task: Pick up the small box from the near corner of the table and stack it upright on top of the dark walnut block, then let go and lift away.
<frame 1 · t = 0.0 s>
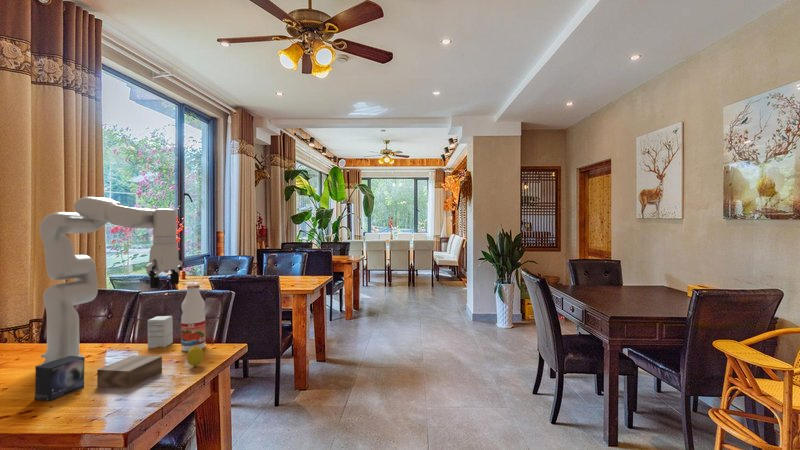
hand: (165, 285, 140), 31 cm above the table, tool pointing down, fingers open, 9 cm apart
small box: (60, 394, 118), on the table
walnut block: (131, 379, 129), on the table
lemon: (195, 367, 140), on the table
fruit juice: (193, 348, 162), on the table
supplement box: (160, 345, 166), on the table
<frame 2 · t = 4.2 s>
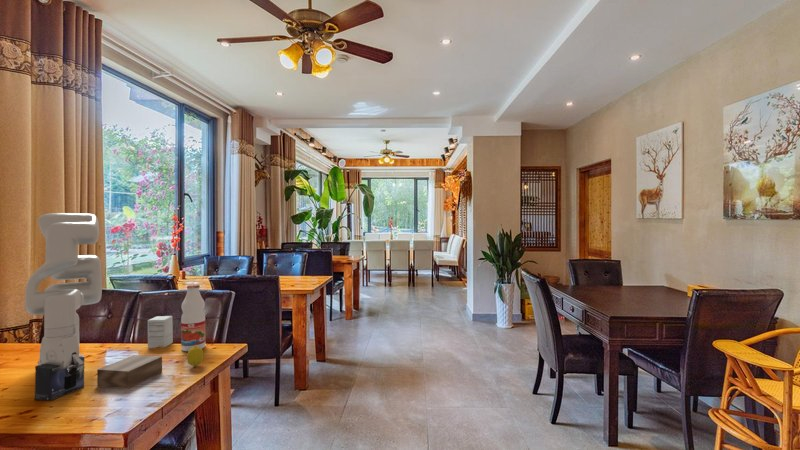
hand: (60, 386, 118), 2 cm above the table, tool pointing down, fingers closed on small box, 6 cm apart
small box: (60, 394, 118), on the table, touching gripper
everything else where it was.
when the fingers open (10 cm above the table, at t = 10.7 s): small box drops 2 cm, resting on walnut block.
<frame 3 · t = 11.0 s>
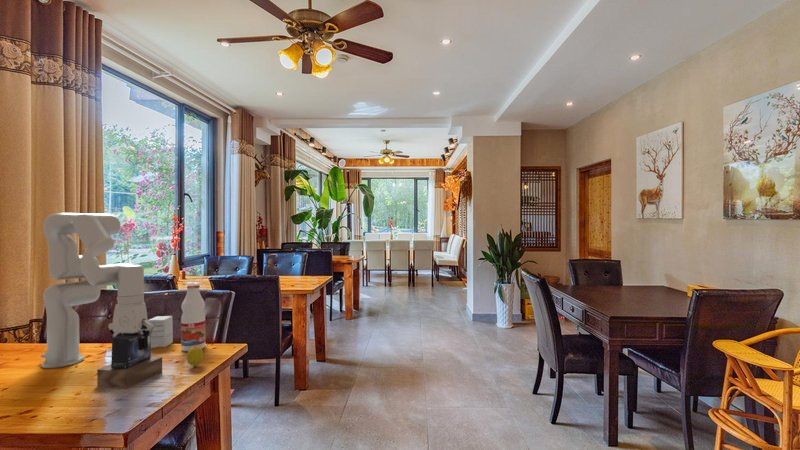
hand: (131, 348, 129), 11 cm above the table, tool pointing down, fingers open, 9 cm apart
small box: (131, 363, 129), point 5 cm above the table, touching walnut block
walnut block: (131, 380, 129), on the table, touching small box
everything else where it was.
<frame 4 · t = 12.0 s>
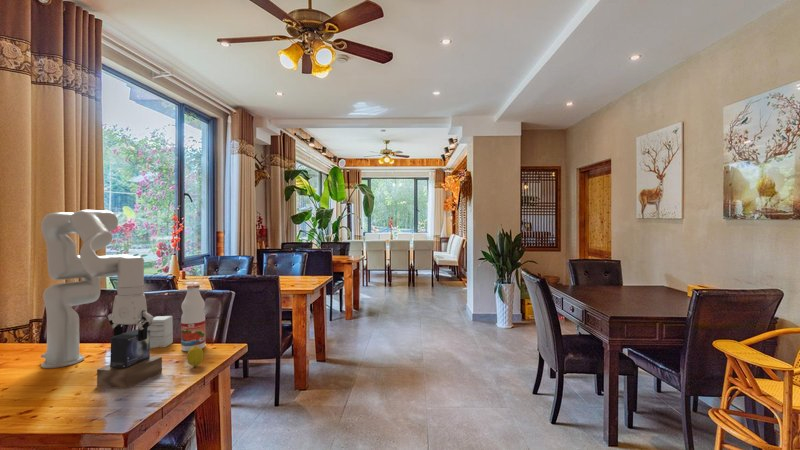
hand: (130, 339, 129), 14 cm above the table, tool pointing down, fingers open, 9 cm apart
small box: (130, 363, 129), point 5 cm above the table
walnut block: (130, 380, 129), on the table
everything else where it was.
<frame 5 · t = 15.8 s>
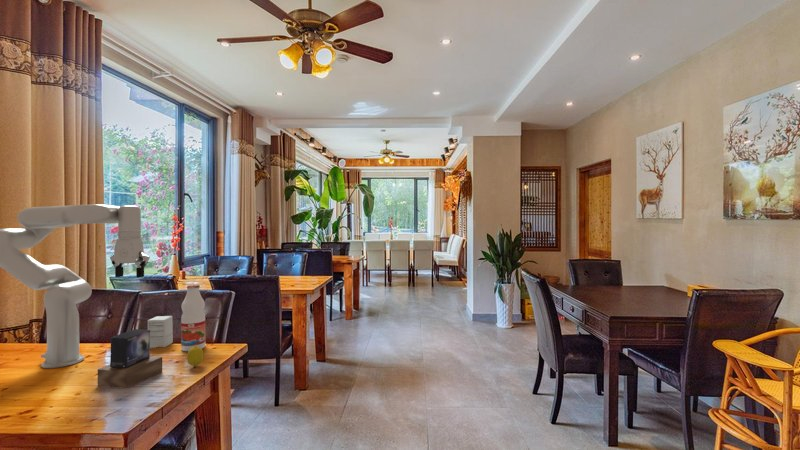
hand: (129, 277, 151), 33 cm above the table, tool pointing down, fingers open, 9 cm apart
nothing on the table moved.
at the end: small box inside the target area on the walnut block (0.1 cm from its centre), point 5.9 cm above the walnut block's base; small box touching nothing; small box tilted 2° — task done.
